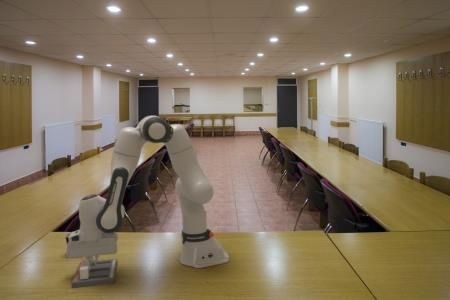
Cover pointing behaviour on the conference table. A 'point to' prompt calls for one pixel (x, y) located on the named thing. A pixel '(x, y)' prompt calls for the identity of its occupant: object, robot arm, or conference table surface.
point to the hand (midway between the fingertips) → (93, 265)
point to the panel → (97, 274)
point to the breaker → (84, 272)
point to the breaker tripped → (86, 263)
